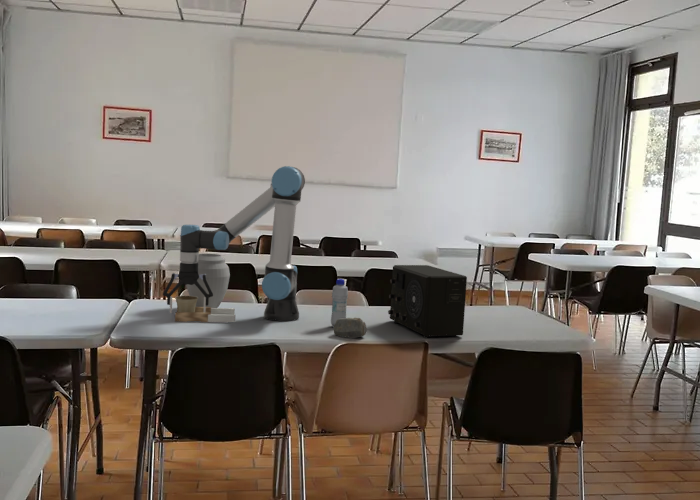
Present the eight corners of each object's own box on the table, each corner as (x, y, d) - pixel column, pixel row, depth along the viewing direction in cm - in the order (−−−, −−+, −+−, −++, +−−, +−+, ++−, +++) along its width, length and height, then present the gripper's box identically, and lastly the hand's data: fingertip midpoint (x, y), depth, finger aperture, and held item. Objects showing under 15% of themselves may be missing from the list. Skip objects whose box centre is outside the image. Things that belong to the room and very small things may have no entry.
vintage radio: (382, 320, 310) (385, 264, 307) (421, 319, 317) (425, 264, 314) (420, 339, 275) (424, 276, 272) (463, 338, 282) (468, 276, 279)
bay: (234, 315, 302) (234, 308, 302) (235, 322, 287) (235, 315, 287) (208, 314, 300) (208, 307, 300) (207, 322, 285) (208, 314, 285)
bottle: (334, 328, 285) (337, 280, 283) (327, 325, 291) (329, 277, 289) (349, 328, 288) (351, 280, 287) (341, 324, 294) (344, 277, 292)
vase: (184, 313, 300) (185, 257, 298) (183, 305, 319) (185, 252, 317) (230, 313, 305) (232, 258, 303) (227, 305, 324) (229, 253, 321)
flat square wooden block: (210, 315, 300) (211, 307, 299) (210, 321, 286) (210, 313, 286) (177, 314, 297) (177, 306, 297) (175, 321, 283) (175, 312, 283)
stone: (331, 336, 271) (332, 316, 271) (338, 332, 279) (339, 313, 278) (362, 340, 268) (363, 320, 267) (368, 336, 276) (369, 316, 275)
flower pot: (186, 321, 285) (186, 300, 284) (169, 318, 289) (170, 297, 289) (202, 318, 293) (203, 297, 292) (186, 315, 297) (186, 294, 297)
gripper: (219, 261, 295) (218, 311, 297) (158, 260, 290) (157, 310, 292) (219, 264, 287) (218, 315, 290) (157, 262, 283) (155, 314, 285)
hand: (187, 313), depth 291 cm, fingers open, 13 cm apart
